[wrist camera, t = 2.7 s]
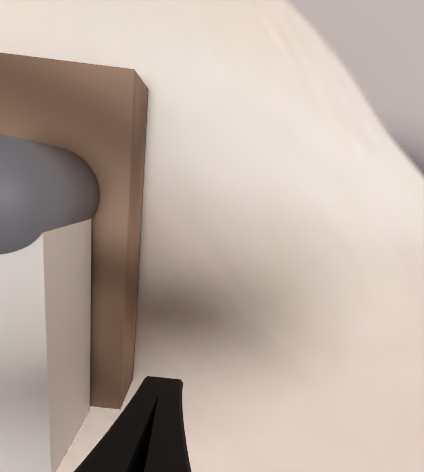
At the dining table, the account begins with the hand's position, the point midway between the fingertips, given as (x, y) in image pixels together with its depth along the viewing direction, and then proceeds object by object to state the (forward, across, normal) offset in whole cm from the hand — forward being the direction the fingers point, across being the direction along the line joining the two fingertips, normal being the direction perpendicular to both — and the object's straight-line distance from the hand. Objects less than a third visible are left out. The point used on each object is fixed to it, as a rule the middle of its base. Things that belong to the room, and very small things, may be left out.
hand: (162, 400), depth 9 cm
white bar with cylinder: (+3, +6, -2) cm, 7 cm away
